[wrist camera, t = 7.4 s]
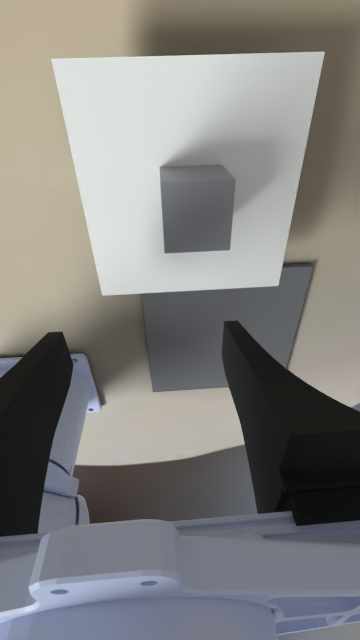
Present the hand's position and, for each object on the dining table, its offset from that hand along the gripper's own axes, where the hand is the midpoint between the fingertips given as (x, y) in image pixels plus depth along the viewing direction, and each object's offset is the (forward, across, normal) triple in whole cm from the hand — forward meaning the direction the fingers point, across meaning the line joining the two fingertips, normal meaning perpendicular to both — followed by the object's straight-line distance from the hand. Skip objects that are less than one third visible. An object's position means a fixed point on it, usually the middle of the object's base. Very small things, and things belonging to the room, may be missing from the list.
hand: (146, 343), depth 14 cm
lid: (+6, -3, -5) cm, 8 cm away
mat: (+10, -6, +8) cm, 14 cm away
